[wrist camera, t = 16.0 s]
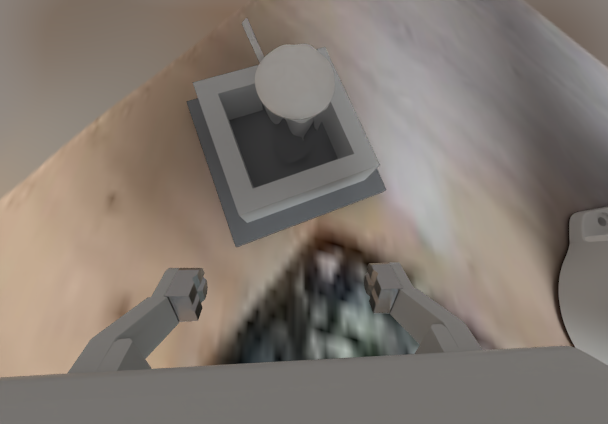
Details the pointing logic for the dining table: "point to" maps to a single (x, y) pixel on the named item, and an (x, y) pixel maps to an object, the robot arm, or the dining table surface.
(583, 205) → the dining table surface
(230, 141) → the sleeve housing
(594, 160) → the dining table surface
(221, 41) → the dining table surface
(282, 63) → the milkshake
